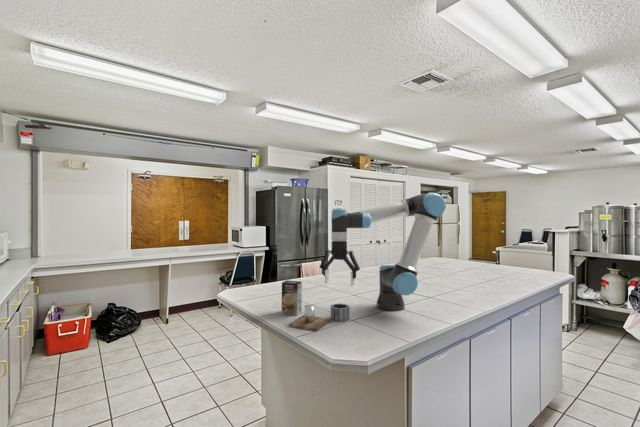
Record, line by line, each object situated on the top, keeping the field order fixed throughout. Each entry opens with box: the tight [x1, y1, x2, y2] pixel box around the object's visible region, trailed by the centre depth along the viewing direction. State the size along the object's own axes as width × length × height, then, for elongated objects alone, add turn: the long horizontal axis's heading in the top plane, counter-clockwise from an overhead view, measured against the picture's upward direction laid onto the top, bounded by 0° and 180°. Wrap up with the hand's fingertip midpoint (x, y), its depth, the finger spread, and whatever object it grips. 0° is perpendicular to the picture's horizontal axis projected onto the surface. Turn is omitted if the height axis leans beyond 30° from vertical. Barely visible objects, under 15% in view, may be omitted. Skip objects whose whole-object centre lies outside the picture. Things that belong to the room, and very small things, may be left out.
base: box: [288, 314, 331, 332], centre depth 144 cm, size 14×14×1 cm
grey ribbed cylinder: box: [330, 303, 351, 323], centre depth 152 cm, size 9×9×6 cm
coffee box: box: [281, 279, 303, 316], centre depth 161 cm, size 9×6×16 cm
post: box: [304, 304, 315, 323], centre depth 144 cm, size 4×4×7 cm
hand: (339, 284), depth 152 cm, fingers open, 13 cm apart
